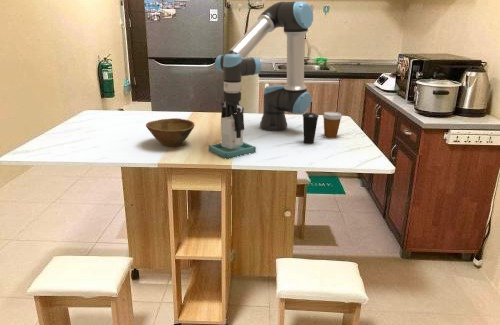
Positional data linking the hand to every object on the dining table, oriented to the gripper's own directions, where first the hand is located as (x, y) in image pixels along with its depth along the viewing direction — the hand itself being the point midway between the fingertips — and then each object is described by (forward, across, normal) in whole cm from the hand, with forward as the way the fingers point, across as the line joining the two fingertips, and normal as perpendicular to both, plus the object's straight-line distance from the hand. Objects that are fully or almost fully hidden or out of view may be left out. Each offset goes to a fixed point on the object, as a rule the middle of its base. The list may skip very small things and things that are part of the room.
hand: (232, 142), depth 182 cm
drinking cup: (+5, +10, +39) cm, 41 cm away
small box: (+2, 0, 0) cm, 2 cm away
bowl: (+5, -26, -17) cm, 31 cm away
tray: (+4, 0, 0) cm, 4 cm away
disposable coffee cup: (+5, +9, +56) cm, 57 cm away
